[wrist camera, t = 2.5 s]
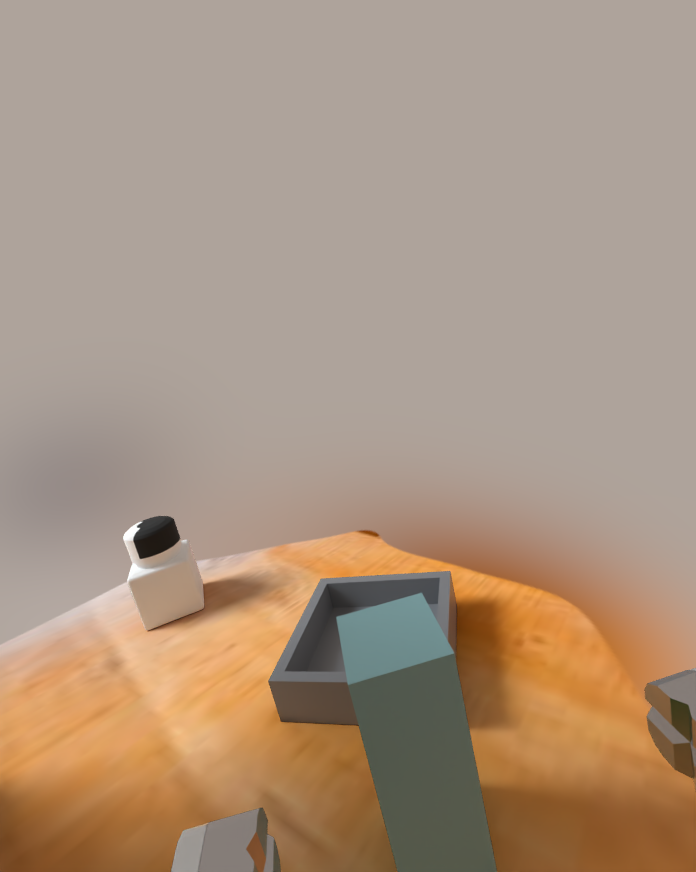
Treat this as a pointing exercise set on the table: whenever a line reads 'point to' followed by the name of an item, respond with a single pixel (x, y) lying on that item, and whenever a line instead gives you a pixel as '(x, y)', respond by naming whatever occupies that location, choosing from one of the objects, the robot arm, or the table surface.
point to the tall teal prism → (416, 737)
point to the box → (321, 648)
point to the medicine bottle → (162, 572)
